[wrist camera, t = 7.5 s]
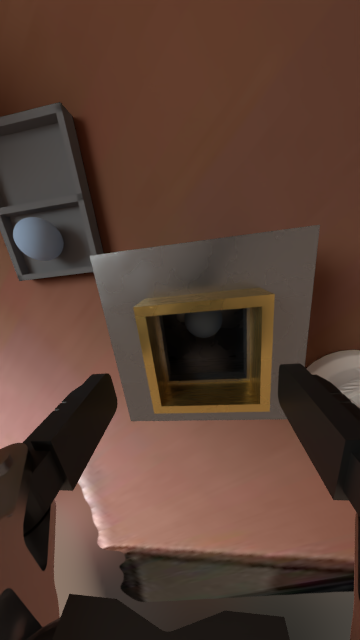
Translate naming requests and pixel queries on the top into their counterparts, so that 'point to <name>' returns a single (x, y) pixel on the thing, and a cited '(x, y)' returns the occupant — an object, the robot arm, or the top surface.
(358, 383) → the decorative container
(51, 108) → the tray
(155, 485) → the top surface
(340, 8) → the top surface
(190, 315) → the bead
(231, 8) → the top surface
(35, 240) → the bead
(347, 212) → the top surface
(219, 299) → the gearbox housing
